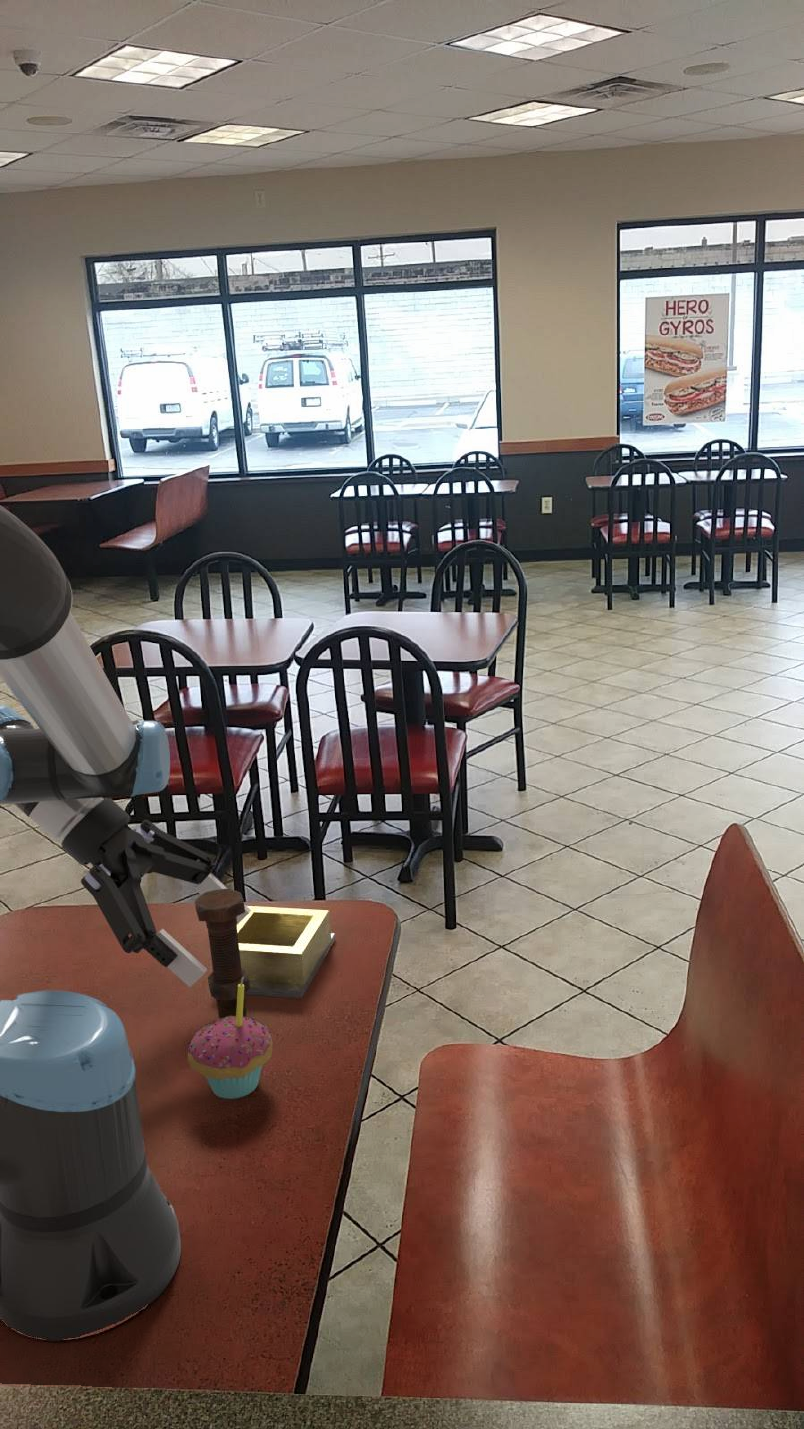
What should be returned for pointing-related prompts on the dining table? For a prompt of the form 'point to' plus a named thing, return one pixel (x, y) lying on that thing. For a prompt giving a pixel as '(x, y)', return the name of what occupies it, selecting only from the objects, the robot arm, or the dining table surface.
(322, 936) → the mount
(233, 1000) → the bolt
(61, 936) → the dining table surface
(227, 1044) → the cupcake
